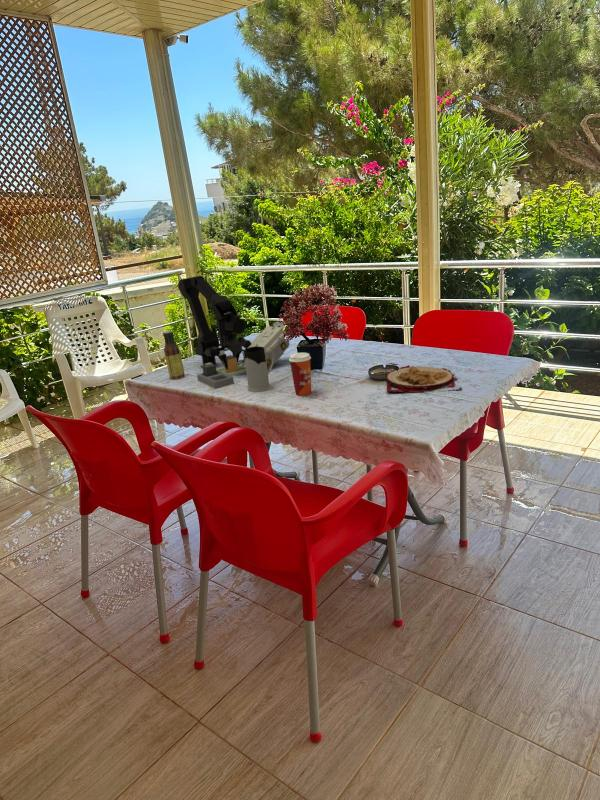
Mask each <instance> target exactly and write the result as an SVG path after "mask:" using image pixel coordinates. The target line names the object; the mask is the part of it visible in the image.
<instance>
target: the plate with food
mask: <svg viewBox="0 0 600 800" xmlns="http://www.w3.org/2000/svg"><path fill="white" fill-rule="evenodd" d="M388 365H392V366H399V364H398V363H392V362H389V363H388ZM397 369H398V371H397V370H393V371H391V372H389V373H388V374H387V375H386V374H385V379H386V392H389V393H420V392H422V393H425V392H434V391H437V390H440V389H441V390H440V391H439V393H440V392H442V389H447V388H450V389H452V388H454V389H452V391H455V388H456V384H455V382H457V383H458V384H459V383H460V381H459V379H458V378H455V376H456V375H455V374H456V373H455V372H454V373H453V372H451V370H450V369H448V370H447V368H444V367H442V368H440V367H433V366H414V365H412V366H410V365H409V364H408V365H406V366H401V367H399V368H397ZM391 387H393V388H395V389H391ZM450 389H449V390H447V391H448V392H449V391H450ZM459 390H462V386H459V387H458V388H456V391H459ZM444 392H446V390H444Z"/></svg>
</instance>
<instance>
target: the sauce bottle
mask: <svg viewBox="0 0 600 800" xmlns="http://www.w3.org/2000/svg"><path fill="white" fill-rule="evenodd" d="M162 336H163V338H164V343H165V344H164V348H163V351H164V357H165V361H166V367H167V370H168V375H169V379H170V380H175V381H176V380H181V379H183V378H185V369H184V364H183V360H182V355H181V350H180V349H179V347H178V345H177V343H176V341H175V337H174V331H172V330H166V331H163V332H162Z"/></svg>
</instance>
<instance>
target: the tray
mask: <svg viewBox="0 0 600 800" xmlns="http://www.w3.org/2000/svg"><path fill="white" fill-rule="evenodd" d="M216 370H217V371H219V372H222V373H224V374H226V375H229V376H231V377H234V376H237V375H238V376H239V375H241V374H245V373H246V366H245V365H244V366H242V364H241V365H238V371H235V372H232V373H226V372H225V367H224V366H223V367H219V368H216Z"/></svg>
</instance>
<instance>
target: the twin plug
mask: <svg viewBox="0 0 600 800" xmlns="http://www.w3.org/2000/svg"><path fill="white" fill-rule="evenodd" d="M201 366H202V365H201ZM201 368H202V373H203V374H204V376H206V377H208V376H212V375H216V374H217V371H216V369H217V366H216V365H214V364H213V363H206V364H205V365H204V366H202V367H201Z"/></svg>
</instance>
